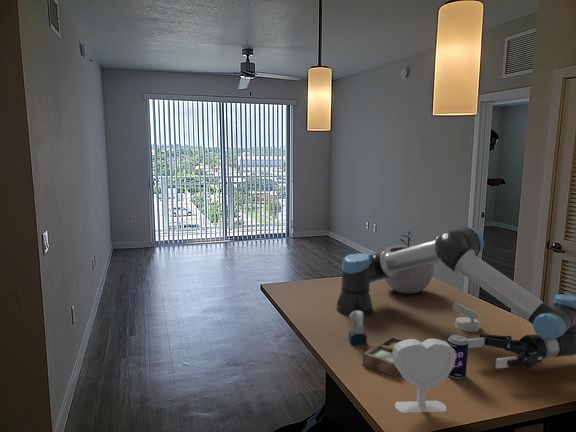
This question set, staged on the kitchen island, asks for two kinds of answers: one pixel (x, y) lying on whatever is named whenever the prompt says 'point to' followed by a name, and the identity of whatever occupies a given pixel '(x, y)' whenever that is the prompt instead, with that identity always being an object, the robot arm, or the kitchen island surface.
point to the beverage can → (459, 355)
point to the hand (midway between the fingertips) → (480, 353)
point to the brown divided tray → (382, 356)
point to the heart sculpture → (423, 370)
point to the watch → (357, 328)
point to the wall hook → (466, 319)
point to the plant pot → (410, 275)
